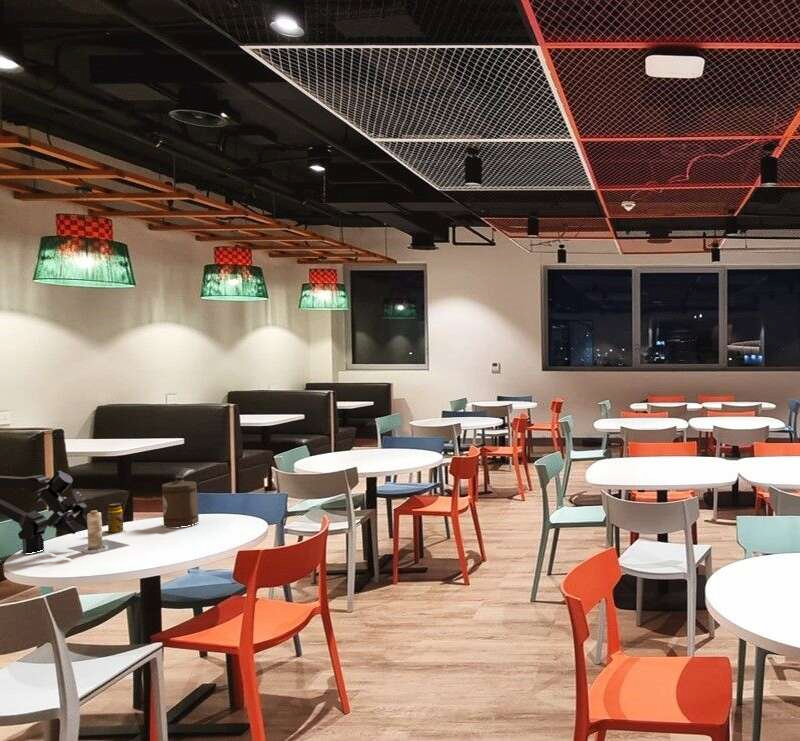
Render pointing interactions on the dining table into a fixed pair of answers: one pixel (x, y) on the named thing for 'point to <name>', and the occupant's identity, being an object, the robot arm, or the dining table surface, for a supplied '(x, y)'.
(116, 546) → the baseplate
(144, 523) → the dining table surface
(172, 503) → the wooden container
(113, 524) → the condiment
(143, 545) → the dining table surface
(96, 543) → the beige wooden pepper mill
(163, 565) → the dining table surface
